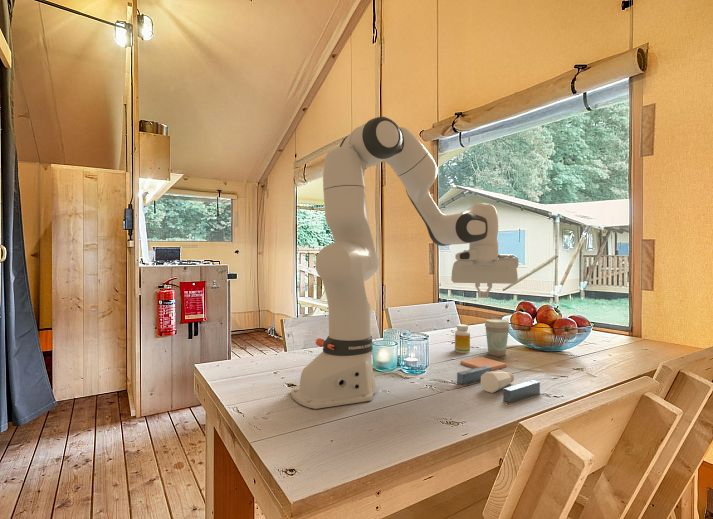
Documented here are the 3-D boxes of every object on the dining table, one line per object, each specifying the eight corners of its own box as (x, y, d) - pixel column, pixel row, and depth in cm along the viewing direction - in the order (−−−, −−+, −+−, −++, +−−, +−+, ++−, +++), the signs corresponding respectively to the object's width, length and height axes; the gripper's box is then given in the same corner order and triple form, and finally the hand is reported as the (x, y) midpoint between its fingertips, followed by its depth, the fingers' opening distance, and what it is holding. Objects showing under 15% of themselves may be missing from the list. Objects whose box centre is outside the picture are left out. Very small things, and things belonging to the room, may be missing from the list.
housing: (510, 403, 93) (510, 390, 93) (457, 383, 107) (457, 372, 107) (539, 393, 99) (539, 381, 99) (485, 375, 114) (485, 365, 114)
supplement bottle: (471, 353, 139) (471, 326, 139) (456, 353, 140) (456, 326, 139) (467, 349, 145) (467, 323, 145) (453, 349, 145) (453, 323, 145)
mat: (485, 372, 118) (485, 368, 118) (460, 364, 126) (460, 361, 126) (506, 366, 123) (506, 363, 123) (481, 359, 131) (481, 356, 131)
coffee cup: (484, 355, 136) (484, 321, 136) (484, 350, 144) (484, 318, 144) (510, 357, 134) (511, 323, 133) (508, 351, 142) (508, 319, 142)
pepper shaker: (495, 369, 100) (515, 365, 107) (477, 373, 103) (498, 369, 110) (501, 391, 98) (521, 385, 105) (483, 394, 101) (503, 388, 109)
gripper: (517, 254, 124) (516, 297, 124) (451, 254, 130) (451, 295, 130) (519, 254, 118) (519, 299, 118) (451, 254, 124) (451, 297, 124)
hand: (483, 297), depth 124 cm, fingers closed
